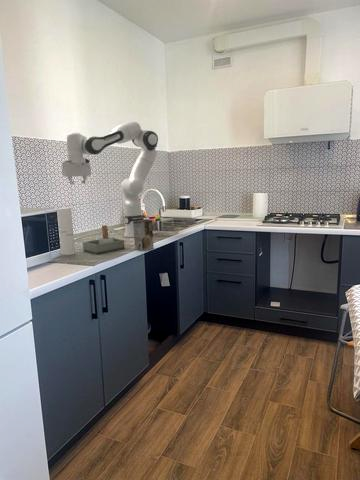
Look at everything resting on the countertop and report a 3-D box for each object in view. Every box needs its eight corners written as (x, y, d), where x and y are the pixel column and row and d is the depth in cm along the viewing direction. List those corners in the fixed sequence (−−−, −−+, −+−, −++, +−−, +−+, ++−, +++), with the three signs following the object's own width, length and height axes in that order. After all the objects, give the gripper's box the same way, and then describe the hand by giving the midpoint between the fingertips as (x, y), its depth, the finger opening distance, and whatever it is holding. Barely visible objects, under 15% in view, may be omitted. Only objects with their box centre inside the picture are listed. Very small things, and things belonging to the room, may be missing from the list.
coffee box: (145, 247, 207) (144, 219, 204) (154, 248, 203) (152, 220, 200) (134, 250, 200) (132, 221, 198) (142, 251, 196) (140, 222, 194)
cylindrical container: (63, 252, 201) (59, 207, 196) (76, 251, 201) (72, 207, 197) (60, 255, 194) (55, 209, 189) (73, 254, 194) (69, 208, 190)
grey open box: (110, 245, 216) (109, 234, 214) (124, 248, 205) (123, 236, 204) (83, 250, 204) (82, 238, 202) (96, 254, 193) (95, 241, 192)
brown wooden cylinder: (107, 247, 204) (105, 225, 202) (110, 248, 202) (108, 225, 200) (102, 248, 202) (100, 225, 200) (105, 249, 200) (103, 226, 198)
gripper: (65, 160, 205) (68, 184, 207) (92, 160, 222) (93, 183, 224) (58, 160, 208) (60, 184, 210) (84, 161, 225) (86, 183, 227)
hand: (78, 183), depth 217 cm, fingers open, 8 cm apart
